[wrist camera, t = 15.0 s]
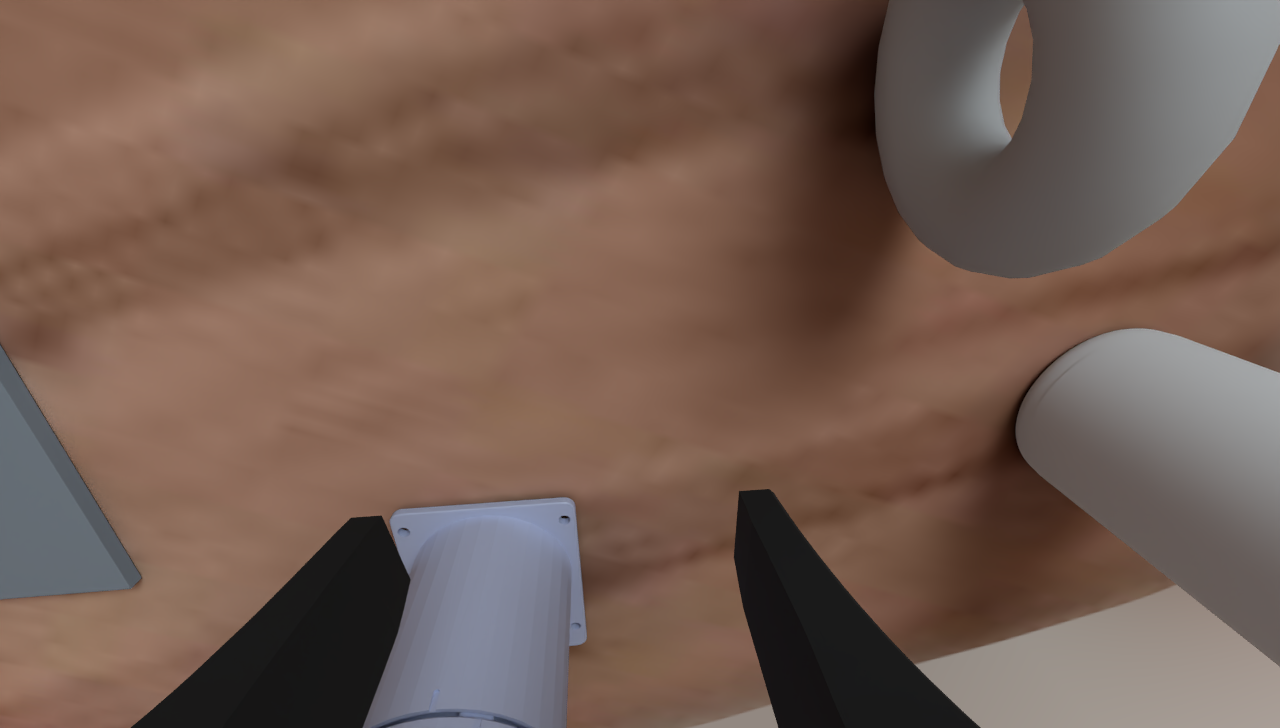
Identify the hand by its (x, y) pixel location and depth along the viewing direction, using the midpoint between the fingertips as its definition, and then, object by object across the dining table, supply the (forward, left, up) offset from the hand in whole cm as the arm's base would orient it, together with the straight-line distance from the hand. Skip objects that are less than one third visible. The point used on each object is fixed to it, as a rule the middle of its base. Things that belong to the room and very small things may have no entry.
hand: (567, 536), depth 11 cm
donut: (+9, -11, -11) cm, 18 cm away
